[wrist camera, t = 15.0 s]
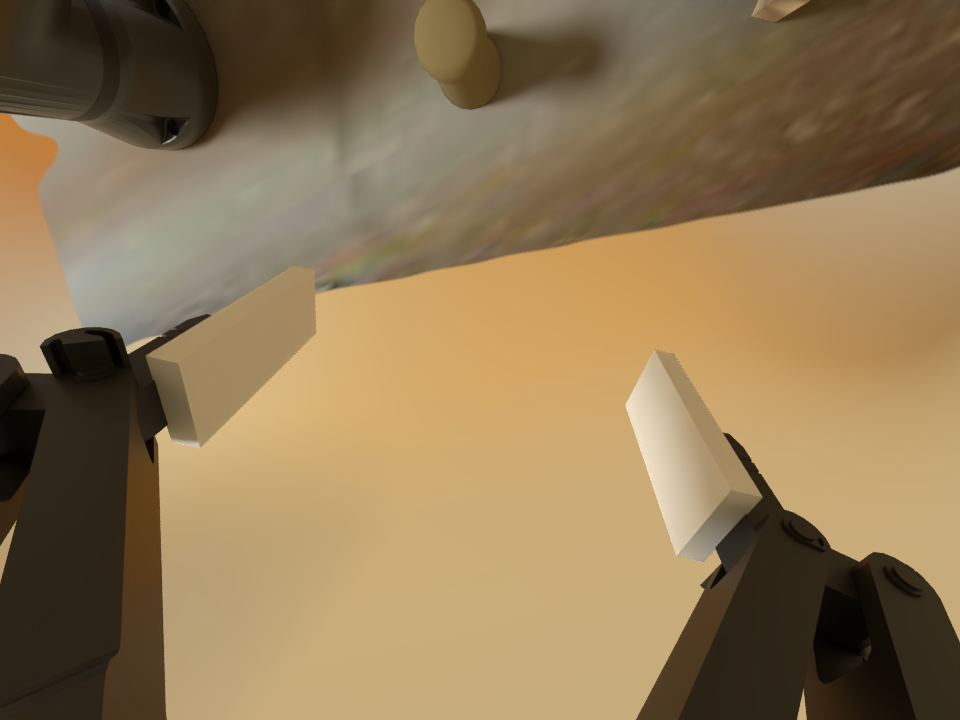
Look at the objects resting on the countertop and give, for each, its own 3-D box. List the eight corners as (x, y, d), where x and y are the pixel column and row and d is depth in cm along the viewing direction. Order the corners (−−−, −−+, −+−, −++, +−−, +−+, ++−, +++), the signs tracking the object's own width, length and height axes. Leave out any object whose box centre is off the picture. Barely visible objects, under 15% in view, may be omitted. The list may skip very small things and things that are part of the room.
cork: (510, 41, 35) (502, -12, 25) (491, 118, 38) (476, 97, 28) (445, 20, 35) (411, -42, 25) (430, 98, 37) (394, 70, 28)
